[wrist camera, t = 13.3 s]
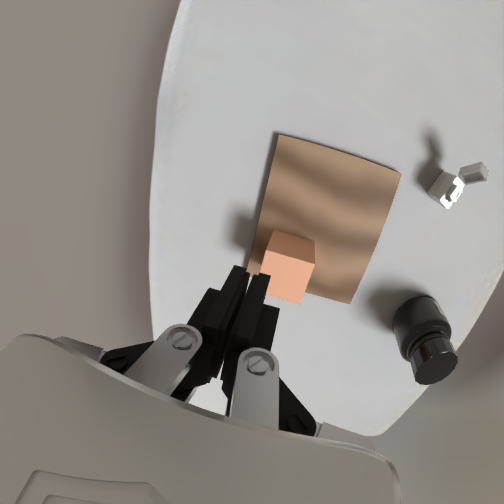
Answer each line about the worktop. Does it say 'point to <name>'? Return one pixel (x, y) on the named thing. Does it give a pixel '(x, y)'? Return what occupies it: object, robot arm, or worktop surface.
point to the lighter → (456, 183)
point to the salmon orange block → (288, 265)
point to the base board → (325, 212)
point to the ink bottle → (425, 339)
